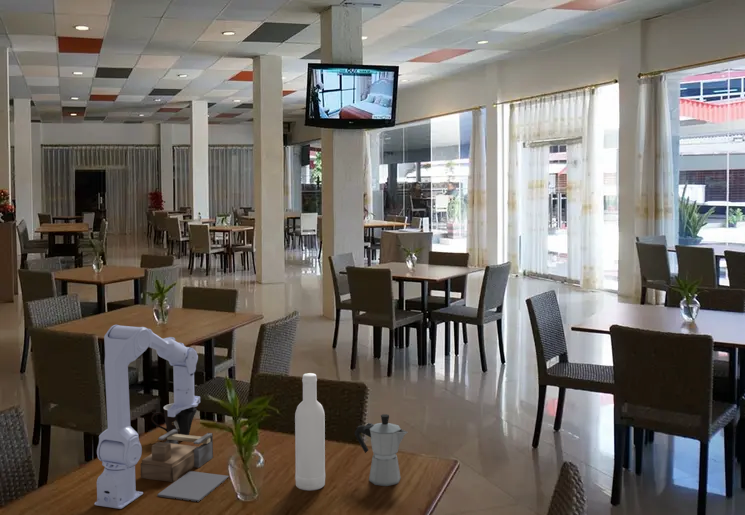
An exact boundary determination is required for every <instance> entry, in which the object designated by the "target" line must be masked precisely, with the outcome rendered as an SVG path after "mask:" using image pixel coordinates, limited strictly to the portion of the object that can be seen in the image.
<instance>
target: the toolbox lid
mask: <svg viewBox="0 0 745 515" xmlns="http://www.w3.org/2000/svg"><path fill="white" fill-rule="evenodd" d="M198 447H199V445H189V444H180V443H178V444H172V443H164V442H160V441H157V442H156V443H154V444H152V445H151V453H150V454H149V455H148V456H145V457H144V458H143V459H141V463H142V464H150V465H158V466H166V467H173V466H175V465H176V464H178V463H179V462H181V461H182V460H184V459H185V458H187V457H188V456H190V455H191V454H193V453H194V450H195V449H196V448H198Z"/></svg>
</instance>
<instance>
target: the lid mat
mask: <svg viewBox="0 0 745 515" xmlns="http://www.w3.org/2000/svg"><path fill="white" fill-rule="evenodd" d="M228 477H229V478H230V475H227V474H226V475H224V474H216V473H207V472H201V471H193V470H189V471H188V472H187V473H185V474H184V475H182V476H181V477H180V478H178V479H177V480H175V481H174V482H171V484H170V485H168V486H167V487H165V488H164V489H163V490H161V491H160V492H159V493H157V497H161V498H169V499H175V498H176V500H182V499H183V501H189V500H191V502H196V501H197V502H198V503H200V502H201V501H203V499H205V498H206V497H207V496H208V495H209V494H211V493H212V492H213V491H215V490H216V489H217V488H218V487H219V486H221V485H222V484H224V482H226V481H227V480H228V479H229V478H228ZM227 478H228V479H227ZM226 479H227V480H226ZM225 480H226V481H225ZM221 483H222V484H221ZM220 484H221V485H220ZM216 487H217V488H216ZM215 488H216V489H215ZM210 492H211V493H210ZM205 496H206V497H205ZM204 497H205V498H204ZM200 500H201V501H200ZM199 501H200V502H199Z"/></svg>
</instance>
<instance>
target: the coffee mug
mask: <svg viewBox="0 0 745 515" xmlns="http://www.w3.org/2000/svg"><path fill="white" fill-rule="evenodd" d="M173 404H174V402H172V403H169V404H166V405H164V406H163V412H159V411H158V412H157V411H156V412H154V413H153V414H152V415H151V418H150V419H151V423H153V425H155V426H156V427H158V428H159V429H162V430H164V431H165V432H166V433H168V432H169V431H171V430H173V429H177V430H178V434H181V433H180V429H179V426H178V423H177V421H176V419H175V417H168V409H170V408H171V406H172V405H173ZM156 415H161V416H162V418H164V420H165V426H166V427H164V426H162V425H159V424H158V423H157V422H155V421H154V417H155V416H156ZM188 435H190V433H189V434H188Z"/></svg>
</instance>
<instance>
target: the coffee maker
mask: <svg viewBox="0 0 745 515" xmlns="http://www.w3.org/2000/svg"><path fill="white" fill-rule="evenodd" d="M380 418H381V419H380V420H381V422H379V423H377V422H376V423H375V424H373V422H371V423H370V422H368V423H367V424H365V425H358V426H357V427H356V430H355V431H354V436H355V438H356V439H357V441H358V443H359V445H360V447H361V448H362V450H363V451H364V454H367V452H368V451H369V448H368V446H367V444H366V443H365V441H364V439H363V438H362V435H361V434H360V433H362V434H363V435H366V437H369V438H370V442H371V443H370V444H371V450H372V453H373V455H372V458H371V464H370V471H369V477H368V481H369V482H370V483H371V484H374V486H382V487H388V486H389V487H390V486H393V485H398V484H399V482H400V480H401V478H402V477H401V472H400V466H399V459H398V455H397V453H398V451H399V446H400V444H401V442H402V441H403V440H404V437H405V435H406V434H408V433H409V432H408V431H406V430H404V429H403V428H401V427H400V425H398V424H395V423H390V422H389V418H390V415H389V414H386V413H383V414H380Z"/></svg>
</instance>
